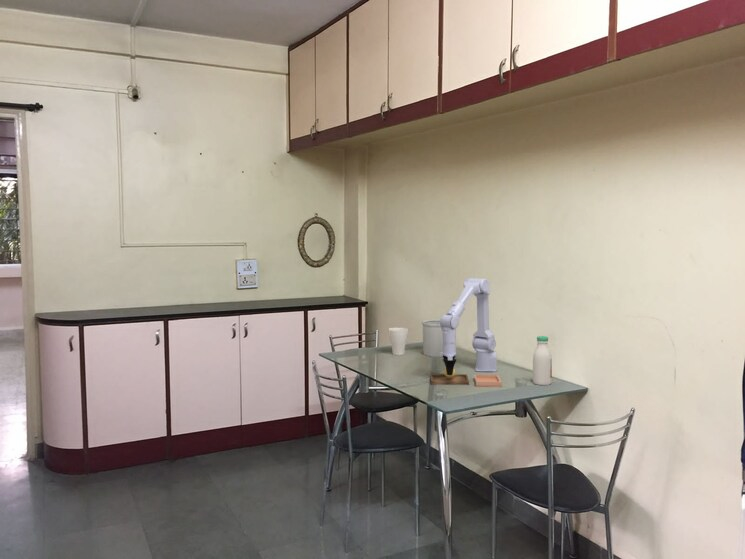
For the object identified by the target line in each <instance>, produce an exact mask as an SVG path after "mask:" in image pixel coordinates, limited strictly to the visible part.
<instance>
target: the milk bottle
mask: <svg viewBox="0 0 745 559" xmlns="http://www.w3.org/2000/svg"><path fill="white" fill-rule="evenodd" d="M548 343H549V336H545V335H540V336H539V335H538V336H537V337H536V347H535V350H534V352H533V356H532V382H533V384H535V385H539V386H549V385H551V384H552V382H553V381H552V380H553V379H552V374H553V373H552V372H553V371H552V370H553V369H552V368H553V367H552V366H553V365H552V364H553V363H552V362H553V361H552V358H553V356H552V354H551V350H550V347H549V344H548Z"/></svg>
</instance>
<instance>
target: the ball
mask: <svg viewBox="0 0 745 559" xmlns="http://www.w3.org/2000/svg"><path fill="white" fill-rule="evenodd" d="M443 373H444V374H445V376H446V377H448V378H451V377H453V376H454V375H455V374H456V370H455V368H454V369H453V374H452V375H447V371H446V367H445V368H444V371H443Z"/></svg>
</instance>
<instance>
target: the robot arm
mask: <svg viewBox="0 0 745 559" xmlns="http://www.w3.org/2000/svg"><path fill="white" fill-rule="evenodd" d="M473 295H474V296H475V297H476V318H477V319H476V321H477V331H475V332H474V333H473V334H472V336H473V337H472V340H471V345H472V348H473V349H474V352H475V364H476V365H475V366H474V370H475V371H476V372H492V373H493V372H497V371H498V370H497V369H498V368H497V366H498V360H497V359H498V358H497V357H498V356H497V351H496V350H495V348H496V346H497V342H496V337H495V334H494V333H493V332H492V331H491V330H490V319H489V318H490V313H489V312H490V310H489V303H490V302H489V296H490V282H489V280H488V279H487V278H484V277H483V278H478V277H477V278H476V277H474V278H473V277H467V278H465V280H464V282H463V289H462V292H461V294H460V295H459V297H458V299H457V301H454V302H453V303H452V304H451V306H450V307H449V309H448V311H446V313H445V314H443V315H442V316H441V317H440V318H439V319H440V326H441V330H442V332H443V352H440V354H443V357H442V360H443V363H444V365H445V368H446V371H447V375H452V374H453V369H455V364H456V362H457V359H456V355H457V329H458V327H459V325H460V320H461V316H462V315H463V313H464V311H465V310H466V309H465V305H466V303H467V302H468V301H469V300H470V298H471V297H472V296H473Z"/></svg>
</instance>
